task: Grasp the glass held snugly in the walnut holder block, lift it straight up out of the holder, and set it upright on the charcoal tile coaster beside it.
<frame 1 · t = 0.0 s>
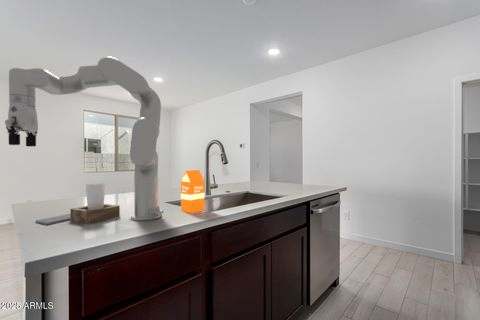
hand: (23, 145, 91), 31 cm above the worktop, tool pointing down, fingers open, 9 cm apart
walnut holder: (95, 218, 100), on the worktop
drinking glass: (95, 219, 100), resting in walnut holder
charcoal tile coaster: (61, 219, 99), on the worktop
orange juice: (192, 210, 115), on the worktop
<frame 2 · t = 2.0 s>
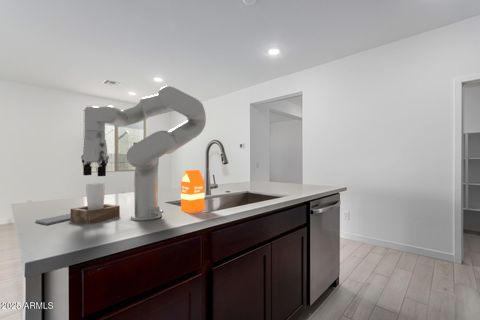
hand: (94, 175, 100), 19 cm above the worktop, tool pointing down, fingers open, 9 cm apart
nothing on the worktop moved.
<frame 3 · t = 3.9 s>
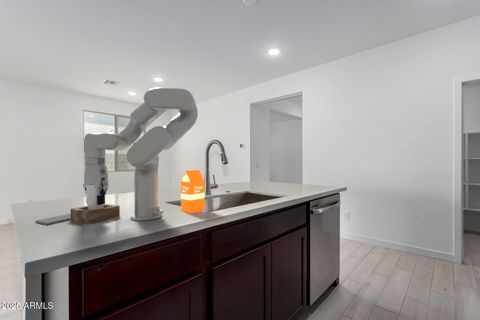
hand: (95, 203, 100), 7 cm above the worktop, tool pointing down, fingers closed on drinking glass, 6 cm apart
drinking glass: (95, 219, 100), resting in walnut holder, touching gripper
everything else where it was.
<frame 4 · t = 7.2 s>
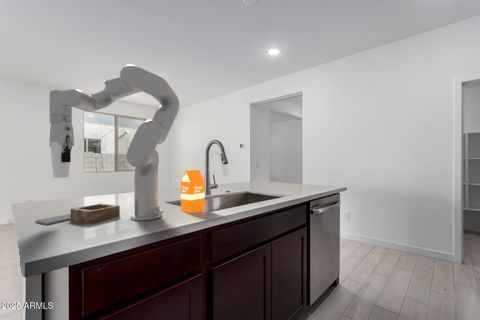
hand: (61, 161, 99), 25 cm above the worktop, tool pointing down, fingers closed on drinking glass, 6 cm apart
drinking glass: (61, 177, 99), point 18 cm above the worktop, touching gripper
everything else where it was.
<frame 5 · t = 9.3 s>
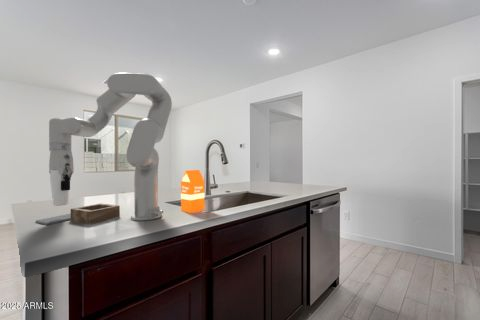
hand: (60, 189, 99), 13 cm above the worktop, tool pointing down, fingers closed on drinking glass, 6 cm apart
drinking glass: (60, 205, 99), point 6 cm above the worktop, touching gripper
everything else where it was.
when the fingers open (9 cm above the worktop, at t = 10.7 s): drinking glass drops 1 cm, resting on charcoal tile coaster.
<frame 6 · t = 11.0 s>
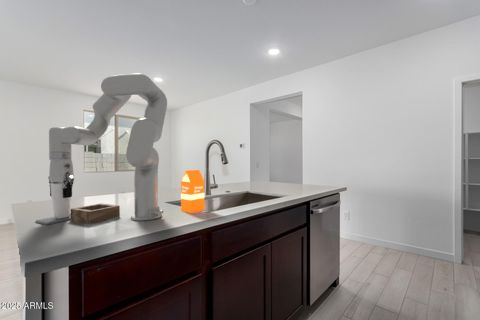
hand: (61, 196, 99), 10 cm above the worktop, tool pointing down, fingers open, 9 cm apart
drinking glass: (62, 217, 99), point 1 cm above the worktop, touching charcoal tile coaster
everything else where it was.
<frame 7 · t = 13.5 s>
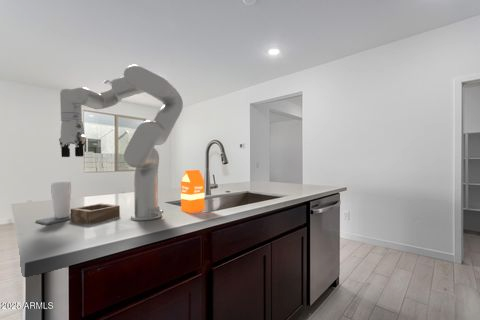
hand: (72, 156, 103), 27 cm above the worktop, tool pointing down, fingers open, 9 cm apart
nothing on the worktop moved.
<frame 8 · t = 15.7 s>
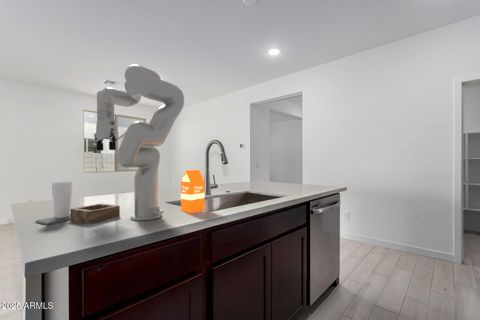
hand: (106, 150, 116), 30 cm above the worktop, tool pointing down, fingers open, 9 cm apart
nothing on the worktop moved.
at the end: drinking glass inside the target area on the charcoal tile coaster (0.3 cm from its centre), point 0.6 cm above the charcoal tile coaster's base; drinking glass tilted 1°; the gripper is holding nothing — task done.
